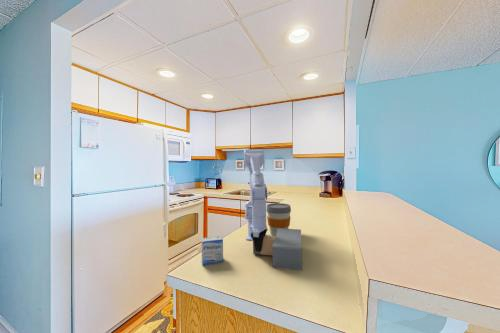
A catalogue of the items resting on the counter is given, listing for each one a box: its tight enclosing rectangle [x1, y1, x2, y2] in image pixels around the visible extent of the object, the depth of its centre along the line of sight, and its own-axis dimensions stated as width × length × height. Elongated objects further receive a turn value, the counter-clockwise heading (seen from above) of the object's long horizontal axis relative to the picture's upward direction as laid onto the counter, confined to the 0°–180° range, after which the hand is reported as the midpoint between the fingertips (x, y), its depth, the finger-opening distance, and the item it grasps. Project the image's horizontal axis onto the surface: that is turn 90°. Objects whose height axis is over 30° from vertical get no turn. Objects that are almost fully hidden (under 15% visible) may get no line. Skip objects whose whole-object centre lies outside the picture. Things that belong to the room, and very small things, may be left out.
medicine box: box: [200, 235, 224, 266], centre depth 76 cm, size 8×4×9 cm, turn 105°
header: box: [272, 228, 303, 271], centre depth 80 cm, size 20×10×8 cm, turn 166°
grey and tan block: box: [252, 235, 275, 256], centre depth 81 cm, size 4×14×6 cm, turn 76°
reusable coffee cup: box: [266, 202, 292, 237], centre depth 104 cm, size 13×13×15 cm
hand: (259, 248), depth 82 cm, fingers closed on grey and tan block, 4 cm apart
